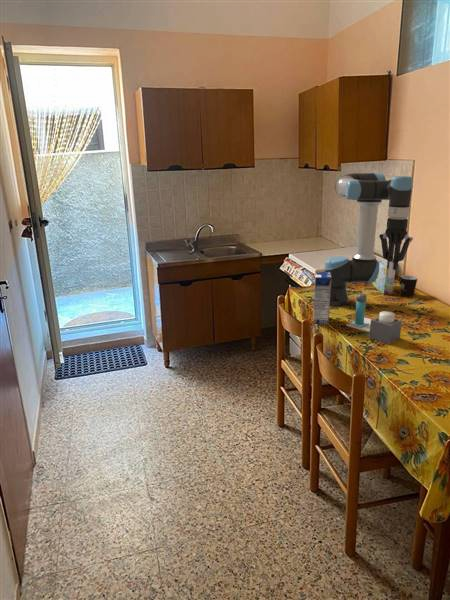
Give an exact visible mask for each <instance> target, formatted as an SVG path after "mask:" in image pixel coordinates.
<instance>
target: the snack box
mask: <svg viewBox="0 0 450 600" xmlns="http://www.w3.org/2000/svg"><path fill="white" fill-rule="evenodd" d="M376 260H377V261H379V274H378V277H377V279H376V280H375V281H374V282H373V283H371V284H372V286H373V287H375V288H376V289H377V290H378V291H379V292H380V293H381V294H382V295H386V296H387V295H388V296H390V295H391V296H392V295H393V290H394V284H395V277H393V278H388V271H389V269H387V262H388V261H385V259H381V260H380V259H376ZM395 272H396V270H395Z"/></svg>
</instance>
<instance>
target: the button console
mask: <svg viewBox="0 0 450 600" xmlns="http://www.w3.org/2000/svg"><path fill="white" fill-rule="evenodd" d="M402 324H403V320H402V319H398V318H394V323H392V324H387V323H383V322H379V316H377V317H375V318H372V320H371V324H370V333H369V336H368V338H369V339H371V340H374V341H377V342H380V343H381V342H382V343H384V344H387V345H390V344H392V343H394V342H395V341H397V340H399V339H400V338H401V332H402Z"/></svg>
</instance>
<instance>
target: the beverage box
mask: <svg viewBox="0 0 450 600" xmlns="http://www.w3.org/2000/svg"><path fill="white" fill-rule="evenodd" d="M314 275H315V278H314V295H313V312H312V324H313V325H318V326H319V325H320V326H321V325H322V326H329V320H330V319H329V318H330V293H331V279H332V278H331V272H324V271H315V274H314Z"/></svg>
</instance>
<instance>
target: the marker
mask: <svg viewBox="0 0 450 600" xmlns="http://www.w3.org/2000/svg"><path fill="white" fill-rule="evenodd" d="M367 298H368V297H367V294H366V293H356V299H355V300H356V303H355V314H354V321H355V322H354V323H355V324H357V325H363V324H364V317H365V315H366V304H367Z"/></svg>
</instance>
